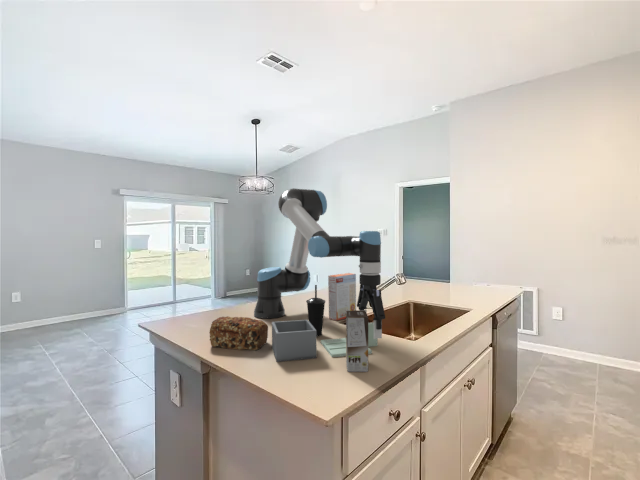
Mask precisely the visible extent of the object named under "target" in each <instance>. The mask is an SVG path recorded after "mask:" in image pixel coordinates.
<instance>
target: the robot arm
mask: <svg viewBox="0 0 640 480" xmlns="http://www.w3.org/2000/svg"><path fill="white" fill-rule="evenodd" d="M278 209H279V212H280V213H281V214H282V216H284V217H285V218H287V219H289V221H291V223H292V224H293V225H294V226H295V231H294V236H293V242H292V247H291V251H290V257H289V261H288V262H286V264H285V266H284V269H282V268H281V267H279V266H271V267H267V268H265V267H264V268H262V269H260V270H258V272H257V279H256V281H257V300H256V304H255V307H254V310H253V316H254V317H255V318H258V319H277V318H281V317H284V316H285V314H286V311H285V306H284V304H283V300H282V293H290V292H291V293H293V292H300V291H301V292H302V291H305V290H306V289H308V287H309V286H310V283H311V273H310V270H309V269H308V267H307V262H308V257H309V255H310V256H311V257H313V258H332V257H359V265H358V268H359V273H360V274H359V292H358V298H357V300H356V308H358V311H366V313H367V312H368V311H367V310H368V307H367V306H368V304H369V303H370V306H371V307H370V308H371V310H372V313H373V318H372V320H373V322H374V339H382V338H383V335H382V334H383V331H382V330H383V323H382V322H383V320H385V319H386V315H385V308H384V303H383V298H382V291H381V289H377V287H378V286H380V285H381V280H382V279H381V278H382V277H381V274H380V273H381V272H382V261H381V258H382V257H381V255H382V254H381V253H382V251H381V247H382V245H381V244H382V242H381V241H382V238H381V232H380V231H378V230H363V231H359V236H355V235H353V236H352V235H346V236H345V235H344V236H342V235H339V236H337V235H336V236H335V235H334V236H330V235H329V233H327V232H326V230H325V229H324V228H323V227H322V226H321V225H320V224H319V223H318V222H319V220H320V216H324V214H326V212H327V209H328V201H327V198H326V196H325V194H324V192H322V191H321V190H316V189H308V188H307V189H305V188H304V189H303V188H289V189H287V190H285V191H284V192H283V193H282V194H281V195H280V196H279V199H278Z"/></svg>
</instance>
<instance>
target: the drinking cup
mask: <svg viewBox="0 0 640 480" xmlns="http://www.w3.org/2000/svg"><path fill="white" fill-rule="evenodd" d="M317 286H318V285H317V284H314V297H311V298H309V299H307V300H306V306H307V317H308V319H307V320H308V321H309V322H310V323H311V324H312V326H313V327H314V328H315V329H316V338H318V337H321V336H323V327H324V326H323V325H324V317H325V315H324V314H325V304H326V300H325V299H323V298H321V297H318V293H317V291H318V287H317Z"/></svg>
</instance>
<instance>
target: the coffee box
mask: <svg viewBox="0 0 640 480" xmlns="http://www.w3.org/2000/svg"><path fill="white" fill-rule="evenodd" d="M368 323H369V316H368V314H367V313H366V311H359V309H358V310H357V309H356V311H346V318H345V326H346V328H345V338H346V356H345V358H346V359H345V362H346V370H347V372H356V373H359V372H362V373H363V372H364V373H368V372H369V354H368V348H369V347H368Z"/></svg>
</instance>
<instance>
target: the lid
mask: <svg viewBox="0 0 640 480" xmlns="http://www.w3.org/2000/svg"><path fill="white" fill-rule="evenodd" d="M378 341H379V340H378V339H374V321H372V322H368V355H370V354H371V355H372V353H373V352H372V349H371V348H370V347H378V346H379V345H378ZM320 344H321V345H322V346H323V348H324V349H325V350H326V352H327V353H328V355H329V356H330V357H331V358H338V357H340V358H341V357H346V337H341V338H329V339H320Z"/></svg>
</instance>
